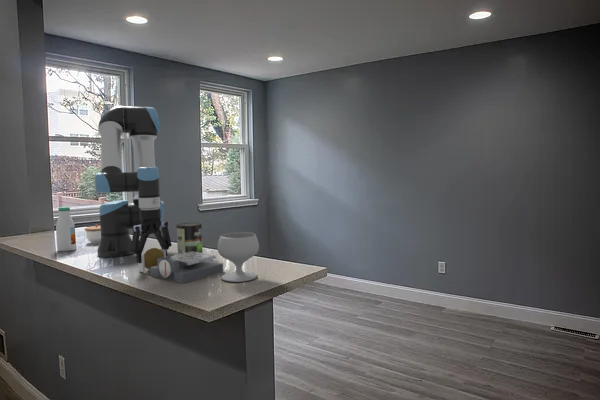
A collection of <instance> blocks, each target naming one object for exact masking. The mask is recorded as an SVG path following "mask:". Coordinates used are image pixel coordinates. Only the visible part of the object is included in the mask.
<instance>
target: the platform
mask: <svg viewBox="0 0 600 400" xmlns="http://www.w3.org/2000/svg"><path fill="white" fill-rule="evenodd" d="M165 258H169V259H174V260H178V261H179V264H183V265H191V264H195V263H199V262H202V261H206V260H210V259H212V260H214V259H216V258H217V255H216V254H210V253H206V252H205V253H204V252H203V253H199V252H193V251H191V252H187V253H183V254H178V253H177V254H174V255H170V256H167V257H165Z"/></svg>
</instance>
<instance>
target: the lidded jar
mask: <svg viewBox="0 0 600 400" xmlns="http://www.w3.org/2000/svg"><path fill="white" fill-rule="evenodd" d="M84 231H85V236H86V237H85V238H86V239H87V241H88V242H89V243H90V244H99V243H100V240H101V228H100V225H98V223H95V225H93V226H87V227H85V228H84Z"/></svg>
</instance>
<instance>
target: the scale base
mask: <svg viewBox="0 0 600 400" xmlns="http://www.w3.org/2000/svg"><path fill="white" fill-rule="evenodd" d="M222 272H224V263H223V262H216V261H213V260H212V261H207V260H206V261H202V262H199V263H195V264H191V265H183V264H179V261H178V260H174V259H169V258H164V257H161V258H157V266H153V267H150V270H149V276H151V277H155V278H159V279H162V280H163V279H164V280H167V281H172V282H175V283H180V284H186V283H189V282H190V283H191V282H193V281H196V280H199V279H202V278H203V279H204V278H207V277H210V276H213V275H217V274H220V273H222Z"/></svg>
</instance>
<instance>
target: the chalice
mask: <svg viewBox="0 0 600 400" xmlns="http://www.w3.org/2000/svg"><path fill="white" fill-rule="evenodd" d="M259 250H260V244H259V239H258V237H257V235H256V233H254V232H250V231H235V232H225V233H223V234H221V235H220V237H219V239H218V242H217V252H218V254H219V256H220V257H222V258H223V259H226V260H228V261H230V263H231V262H232V263H233V264H234V266H235V268H236V269H235V271H234V272H230V273H229V272H228V273H226V274H224V275H222V276H221V277H220V279H221V280H222V281H225V282H229V283H241V282H242V283H243V282H249V281H252V280H255V279H256V278H258V275H257V274H256V273H254V272H250V271H243V269H242V268H243V265H244V263H245V262H247V261H248V260H250V259H251V258H252V257H255V255H257V253H258V252H259Z"/></svg>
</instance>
